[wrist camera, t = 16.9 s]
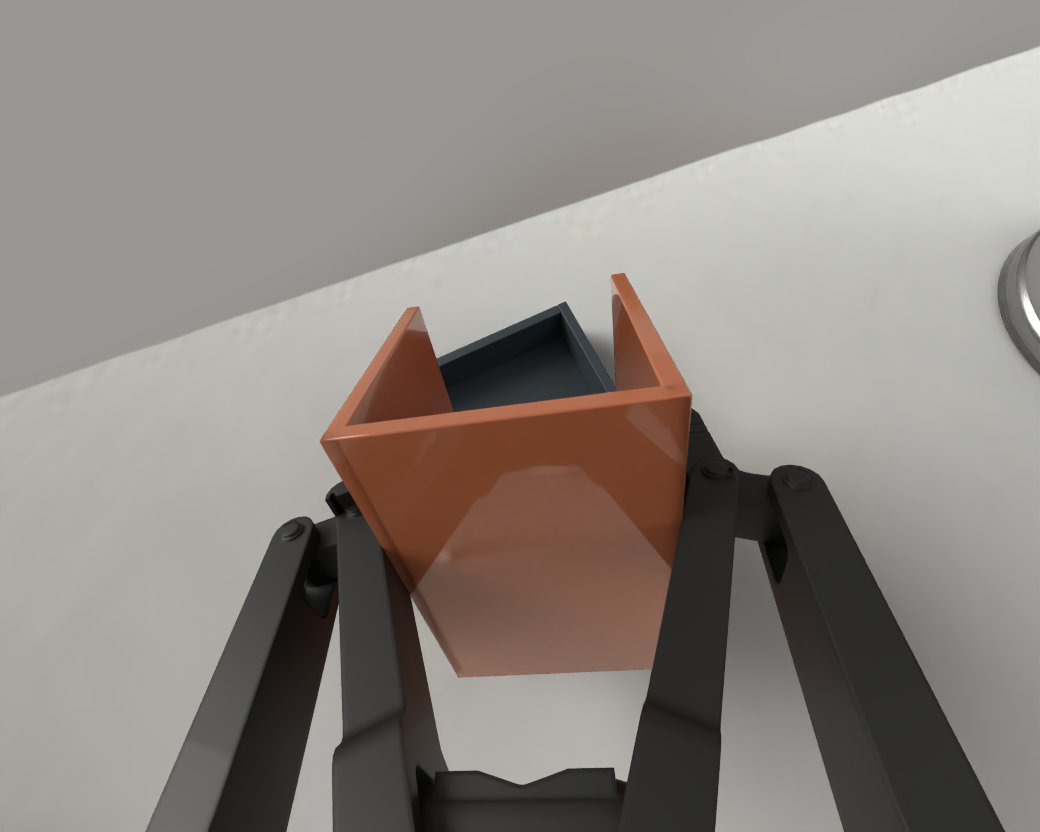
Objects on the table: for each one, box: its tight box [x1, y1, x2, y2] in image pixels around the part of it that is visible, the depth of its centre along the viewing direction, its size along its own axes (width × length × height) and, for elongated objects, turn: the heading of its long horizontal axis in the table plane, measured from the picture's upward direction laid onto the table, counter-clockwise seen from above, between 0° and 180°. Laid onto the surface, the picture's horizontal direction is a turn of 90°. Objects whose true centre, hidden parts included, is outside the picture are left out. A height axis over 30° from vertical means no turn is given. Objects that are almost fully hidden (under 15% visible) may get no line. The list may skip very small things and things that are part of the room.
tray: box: [437, 302, 684, 510], centre depth 25 cm, size 14×14×4 cm
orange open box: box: [320, 273, 692, 677], centre depth 17 cm, size 12×8×12 cm
